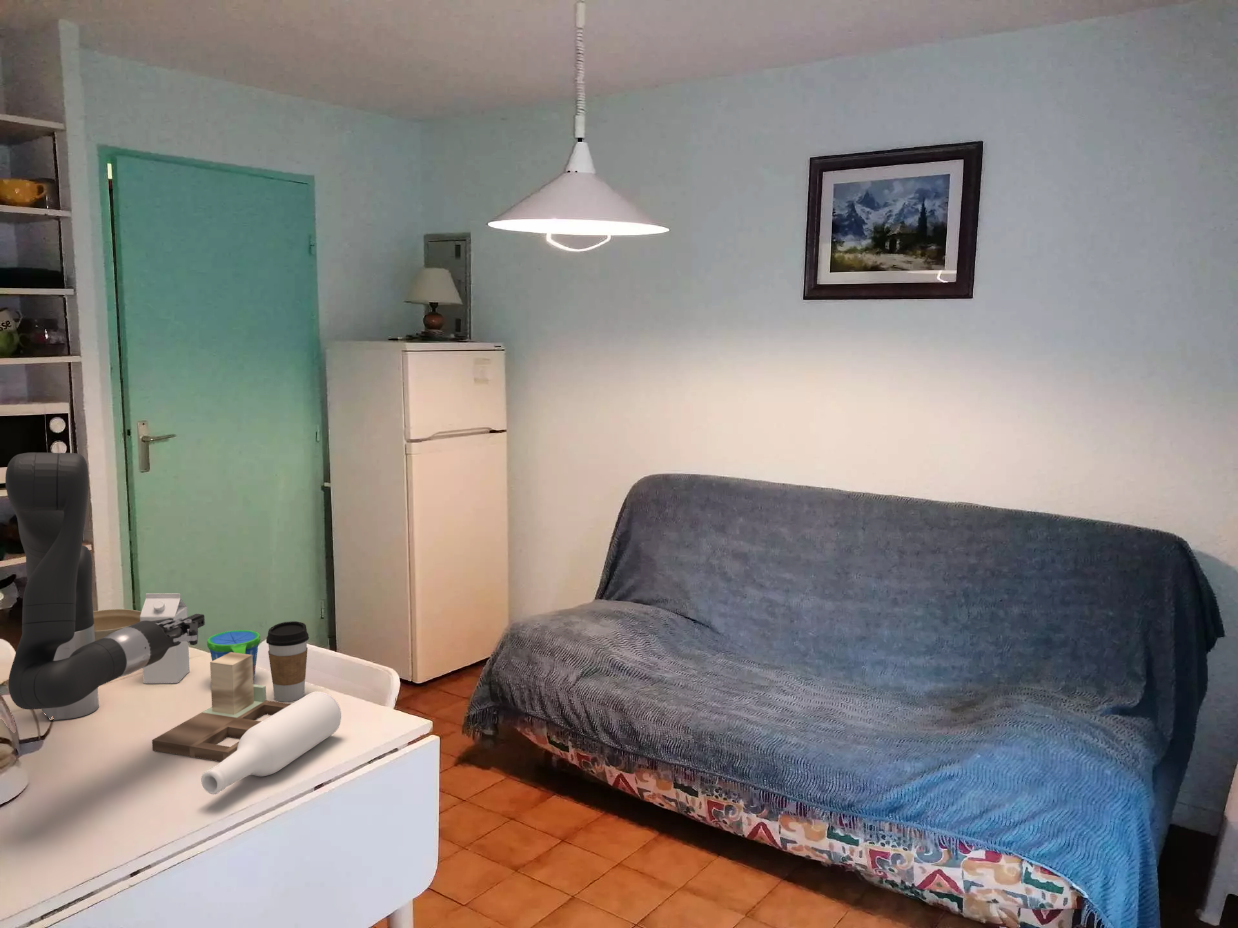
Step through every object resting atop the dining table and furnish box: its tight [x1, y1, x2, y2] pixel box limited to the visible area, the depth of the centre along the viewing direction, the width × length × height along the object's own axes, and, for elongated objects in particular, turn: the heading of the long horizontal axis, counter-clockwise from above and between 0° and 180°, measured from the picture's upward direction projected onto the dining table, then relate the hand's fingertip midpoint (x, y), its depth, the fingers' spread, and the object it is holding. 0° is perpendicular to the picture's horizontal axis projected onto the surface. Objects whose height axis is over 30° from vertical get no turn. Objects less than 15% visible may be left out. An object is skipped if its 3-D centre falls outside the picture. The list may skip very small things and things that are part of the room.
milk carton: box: [140, 592, 190, 684], centre depth 203 cm, size 7×7×19 cm
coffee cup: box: [265, 620, 310, 703], centre depth 194 cm, size 8×8×15 cm
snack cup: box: [206, 629, 261, 681], centre depth 202 cm, size 16×10×10 cm
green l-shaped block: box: [202, 683, 267, 718], centre depth 185 cm, size 9×8×5 cm
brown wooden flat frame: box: [151, 699, 292, 763], centre depth 178 cm, size 22×16×2 cm
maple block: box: [209, 652, 254, 715], centre depth 184 cm, size 6×5×10 cm
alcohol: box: [200, 691, 342, 795], centre depth 163 cm, size 9×9×30 cm
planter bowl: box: [93, 608, 142, 641], centre depth 210 cm, size 16×16×11 cm
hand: (201, 618), depth 175 cm, fingers closed
